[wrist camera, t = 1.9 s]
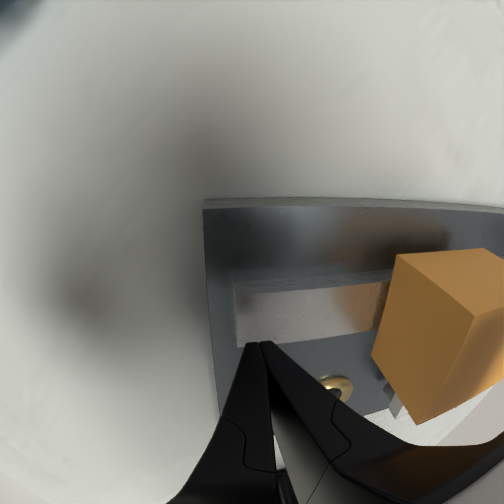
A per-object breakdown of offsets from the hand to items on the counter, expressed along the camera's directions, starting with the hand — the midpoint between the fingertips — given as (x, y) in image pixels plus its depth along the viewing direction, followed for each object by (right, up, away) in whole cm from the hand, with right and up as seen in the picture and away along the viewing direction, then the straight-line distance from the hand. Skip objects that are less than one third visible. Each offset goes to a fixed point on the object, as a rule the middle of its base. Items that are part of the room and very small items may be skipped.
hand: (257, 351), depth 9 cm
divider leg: (+8, -1, +4) cm, 9 cm away
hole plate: (+13, -1, +7) cm, 14 cm away
